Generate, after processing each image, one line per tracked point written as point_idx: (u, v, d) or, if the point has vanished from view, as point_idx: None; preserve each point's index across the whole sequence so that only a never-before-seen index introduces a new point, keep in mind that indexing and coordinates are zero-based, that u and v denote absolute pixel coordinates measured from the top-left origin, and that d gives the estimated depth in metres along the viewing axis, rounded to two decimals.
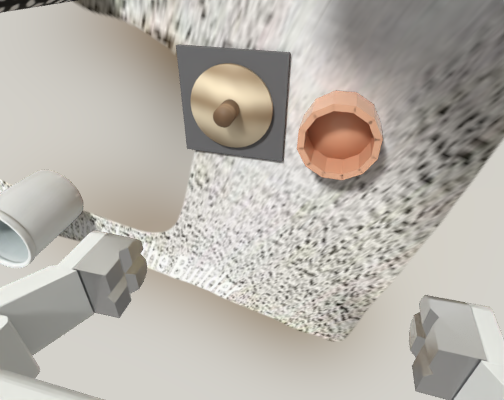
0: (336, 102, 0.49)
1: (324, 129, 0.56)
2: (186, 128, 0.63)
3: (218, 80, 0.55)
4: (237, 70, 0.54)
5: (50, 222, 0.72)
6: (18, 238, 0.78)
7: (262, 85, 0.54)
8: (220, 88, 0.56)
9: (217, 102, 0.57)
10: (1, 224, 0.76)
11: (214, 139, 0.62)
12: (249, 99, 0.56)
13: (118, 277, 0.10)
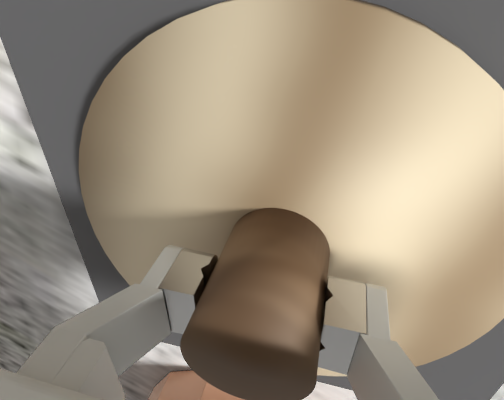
0: None
1: None
2: None
3: (449, 227, 0.09)
4: (478, 316, 0.11)
5: None
6: None
7: None
8: (399, 227, 0.10)
9: (313, 196, 0.10)
10: None
11: (91, 139, 0.11)
12: None
13: None
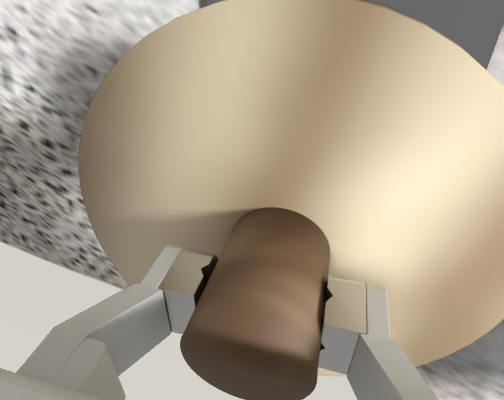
0: None
1: None
2: None
3: (450, 226, 0.09)
4: (479, 316, 0.11)
5: None
6: None
7: None
8: (399, 226, 0.10)
9: (313, 195, 0.10)
10: None
11: (91, 138, 0.11)
12: None
13: None
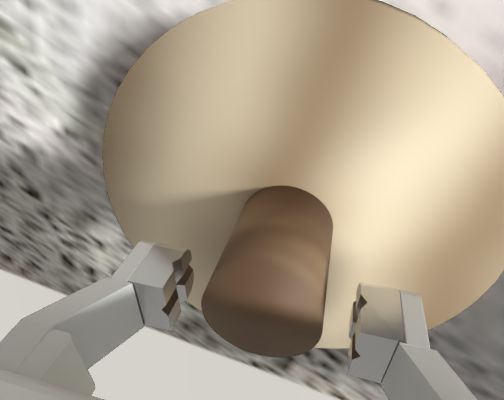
0: None
1: None
2: None
3: (441, 200, 0.10)
4: (468, 285, 0.12)
5: None
6: None
7: None
8: (395, 200, 0.11)
9: (318, 173, 0.11)
10: None
11: (115, 123, 0.12)
12: (329, 297, 0.14)
13: (172, 289, 0.09)
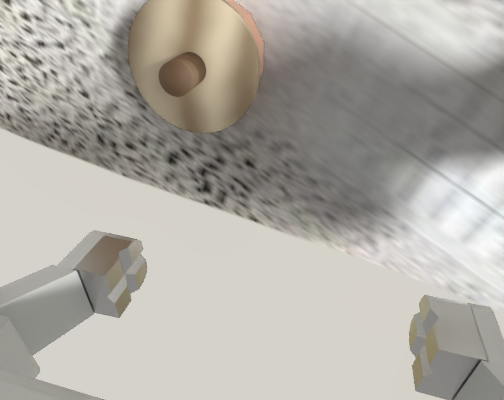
0: None
1: None
2: None
3: (232, 52, 0.34)
4: (250, 86, 0.35)
5: None
6: None
7: (233, 122, 0.38)
8: (221, 54, 0.34)
9: (197, 46, 0.34)
10: None
11: (133, 32, 0.35)
12: (210, 101, 0.37)
13: (118, 277, 0.10)
